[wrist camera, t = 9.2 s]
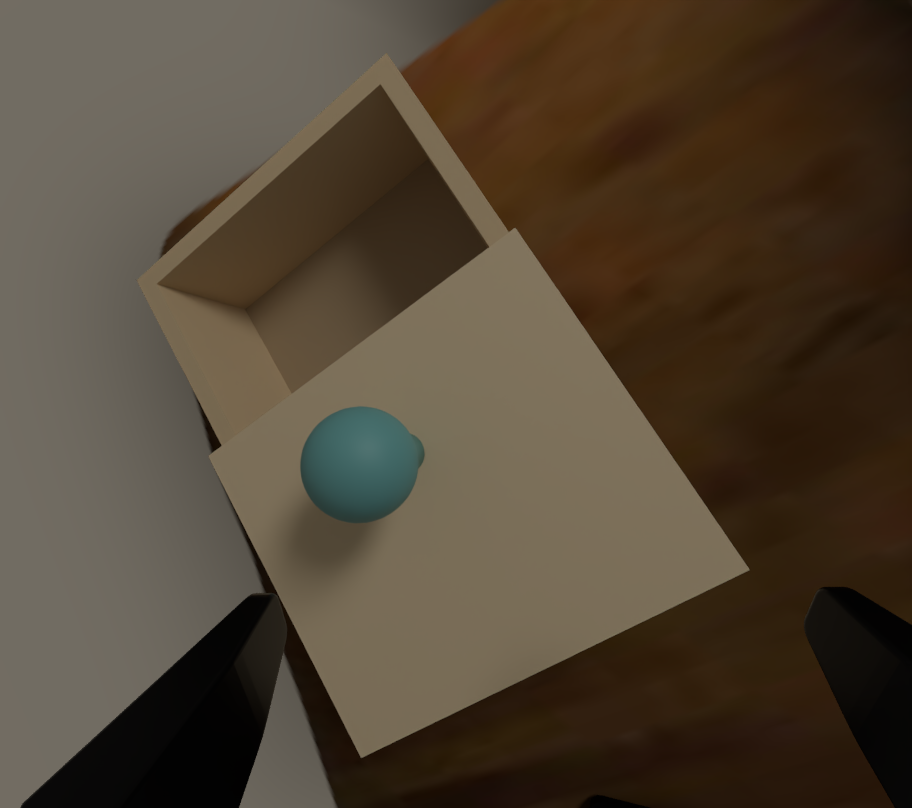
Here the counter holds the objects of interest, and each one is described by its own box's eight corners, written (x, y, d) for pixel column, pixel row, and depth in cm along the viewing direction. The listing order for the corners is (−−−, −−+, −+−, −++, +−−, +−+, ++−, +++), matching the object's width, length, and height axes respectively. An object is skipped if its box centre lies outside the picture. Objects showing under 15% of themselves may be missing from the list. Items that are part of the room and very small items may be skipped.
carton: (572, 342, 21) (566, 317, 15) (338, 495, 24) (261, 522, 19) (437, 141, 23) (386, 52, 17) (236, 308, 26) (136, 280, 20)
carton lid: (742, 562, 14) (838, 658, 9) (368, 746, 17) (270, 897, 12) (517, 234, 16) (482, 146, 11) (219, 454, 19) (77, 472, 14)
